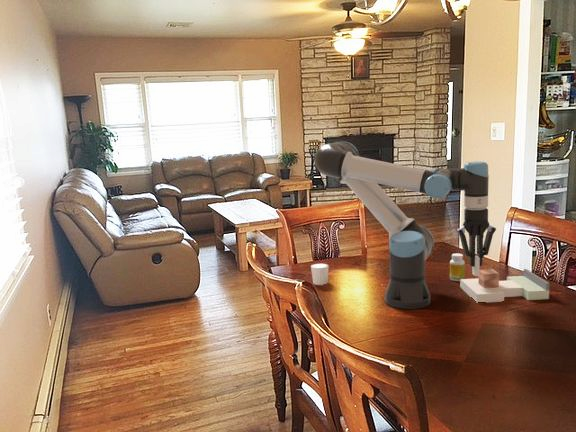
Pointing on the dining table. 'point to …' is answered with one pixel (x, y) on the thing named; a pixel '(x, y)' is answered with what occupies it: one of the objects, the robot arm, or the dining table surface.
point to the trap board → (508, 288)
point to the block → (489, 278)
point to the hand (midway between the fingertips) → (475, 274)
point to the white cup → (319, 273)
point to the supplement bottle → (457, 267)
